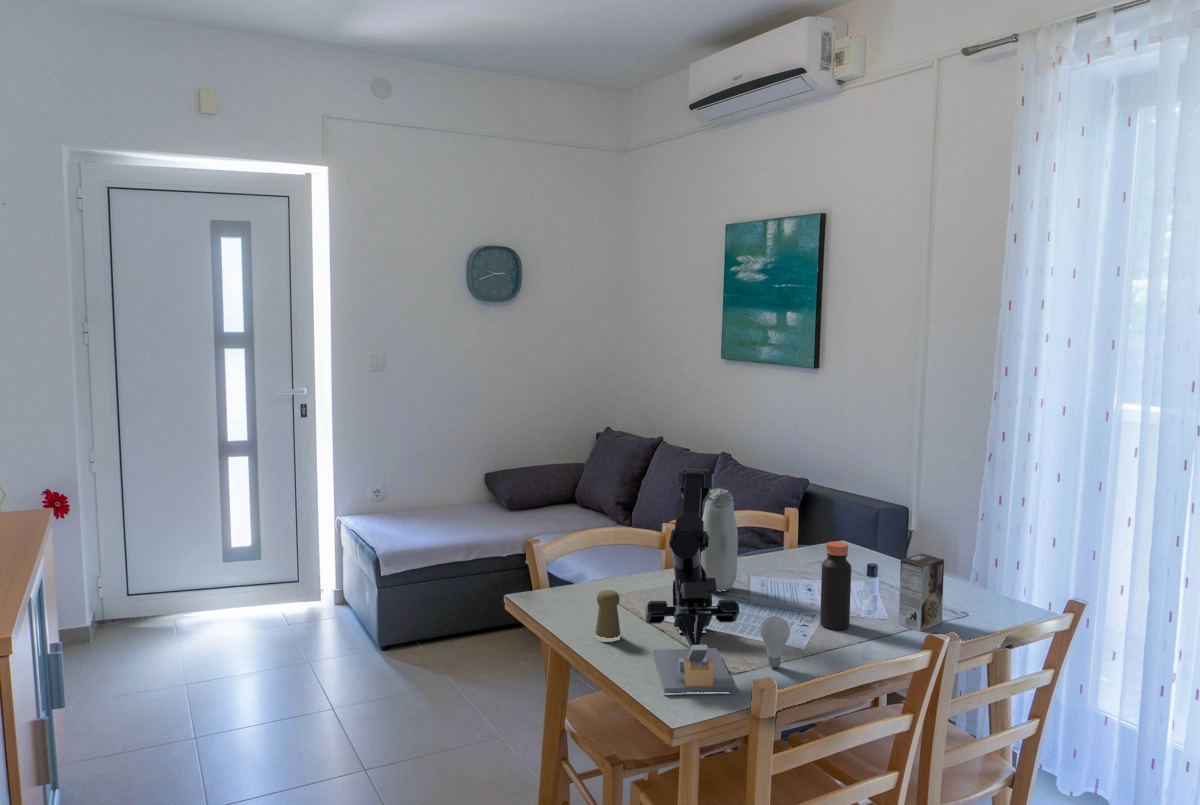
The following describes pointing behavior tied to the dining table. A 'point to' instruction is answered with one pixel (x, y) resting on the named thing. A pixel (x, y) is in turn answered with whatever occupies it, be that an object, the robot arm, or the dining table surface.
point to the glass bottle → (720, 539)
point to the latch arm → (697, 654)
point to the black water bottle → (835, 587)
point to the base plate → (678, 677)
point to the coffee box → (921, 592)
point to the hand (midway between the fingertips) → (696, 652)
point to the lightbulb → (774, 638)
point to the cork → (608, 614)
